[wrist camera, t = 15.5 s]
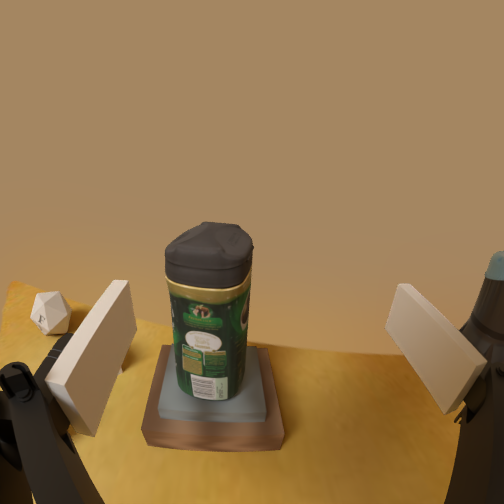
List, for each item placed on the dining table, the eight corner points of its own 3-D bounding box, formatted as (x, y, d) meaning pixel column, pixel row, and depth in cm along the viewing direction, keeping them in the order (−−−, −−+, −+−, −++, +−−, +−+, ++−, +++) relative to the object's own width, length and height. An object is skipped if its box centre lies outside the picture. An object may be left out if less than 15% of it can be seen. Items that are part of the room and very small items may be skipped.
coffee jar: (192, 347, 37) (189, 214, 31) (249, 356, 36) (260, 220, 30) (168, 396, 28) (149, 240, 22) (236, 410, 27) (246, 250, 21)
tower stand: (264, 366, 43) (268, 338, 40) (279, 449, 28) (287, 424, 26) (165, 363, 41) (160, 334, 39) (147, 445, 26) (137, 419, 24)
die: (35, 328, 43) (17, 311, 35) (54, 296, 48) (40, 274, 40) (64, 349, 43) (49, 335, 36) (82, 314, 49) (71, 295, 41)
